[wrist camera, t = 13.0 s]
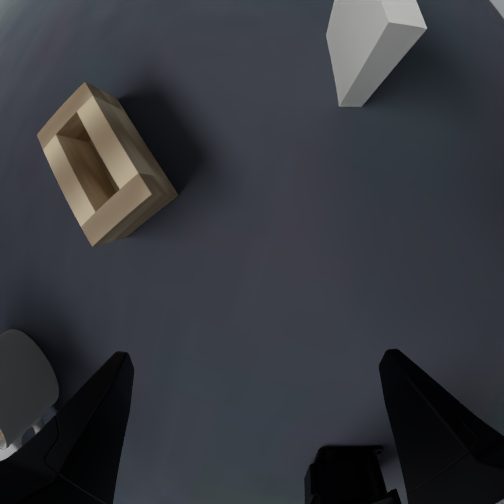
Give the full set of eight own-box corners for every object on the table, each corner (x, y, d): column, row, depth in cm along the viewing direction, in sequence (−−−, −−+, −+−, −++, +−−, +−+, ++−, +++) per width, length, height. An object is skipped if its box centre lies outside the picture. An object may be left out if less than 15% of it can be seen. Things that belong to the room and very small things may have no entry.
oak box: (178, 195, 20) (151, 194, 16) (126, 237, 21) (92, 246, 17) (117, 98, 19) (85, 81, 15) (72, 142, 20) (37, 134, 16)
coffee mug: (-6, 324, 25) (-63, 353, 15) (42, 334, 24) (-25, 376, 14) (28, 414, 27) (-14, 451, 17) (80, 434, 26) (37, 485, 16)
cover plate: (361, 106, 18) (427, 28, 7) (339, 106, 18) (388, 22, 7) (347, 36, 17) (383, -63, 6) (326, 35, 17) (349, -68, 6)
